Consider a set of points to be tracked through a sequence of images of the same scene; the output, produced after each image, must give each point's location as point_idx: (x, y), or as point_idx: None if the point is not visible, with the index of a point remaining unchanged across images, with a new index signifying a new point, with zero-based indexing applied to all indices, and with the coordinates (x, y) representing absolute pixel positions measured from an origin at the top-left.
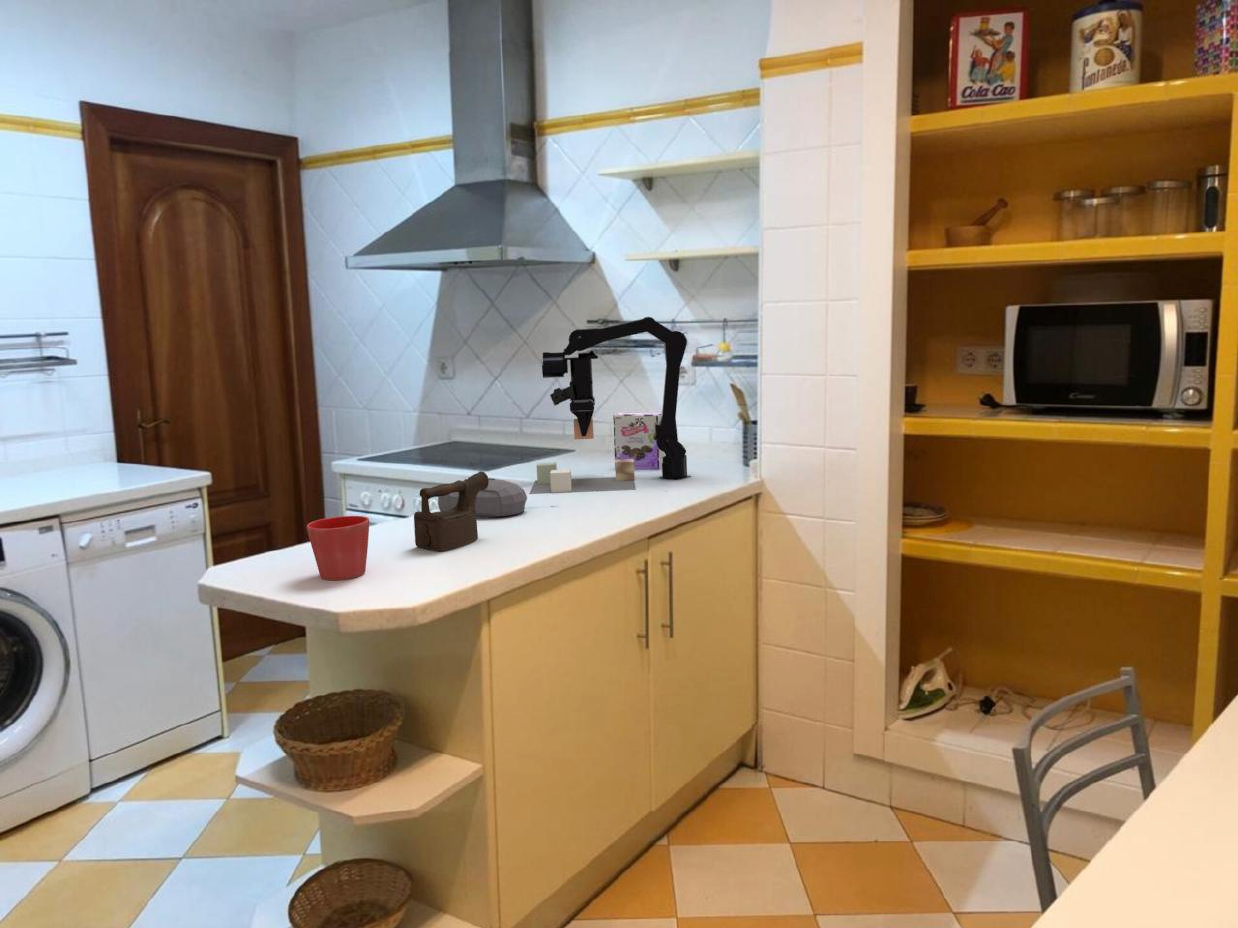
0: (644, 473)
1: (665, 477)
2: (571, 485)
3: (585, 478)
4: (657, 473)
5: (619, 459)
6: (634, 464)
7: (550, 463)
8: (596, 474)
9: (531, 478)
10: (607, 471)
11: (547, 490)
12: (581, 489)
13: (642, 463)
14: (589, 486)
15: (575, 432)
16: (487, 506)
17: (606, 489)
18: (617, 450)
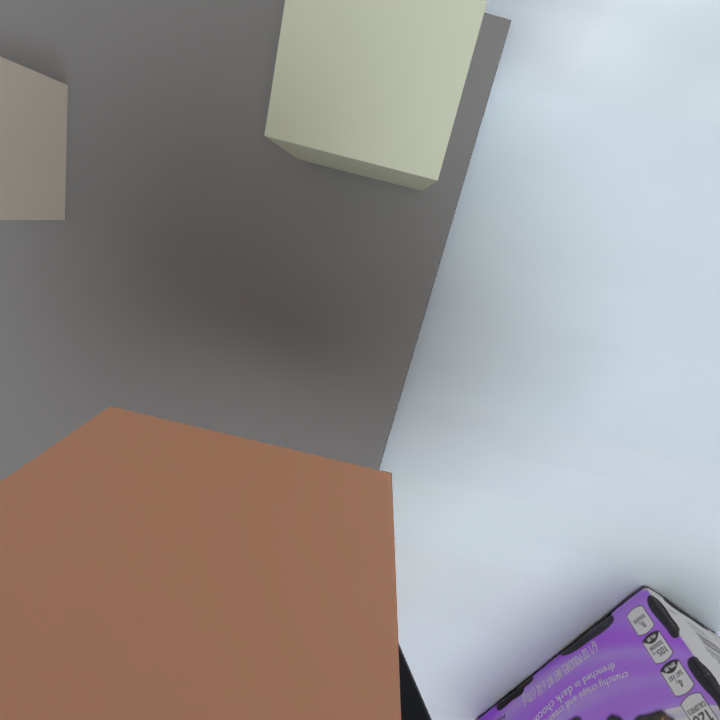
0: (458, 662)
1: None
2: (47, 219)
3: (399, 376)
4: (425, 701)
5: (658, 660)
6: (574, 684)
7: (382, 105)
8: (577, 473)
9: (712, 23)
10: (642, 546)
11: (27, 39)
12: (13, 269)
13: (543, 716)
14: (105, 334)
15: (29, 486)
16: None
17: None
18: (708, 715)
